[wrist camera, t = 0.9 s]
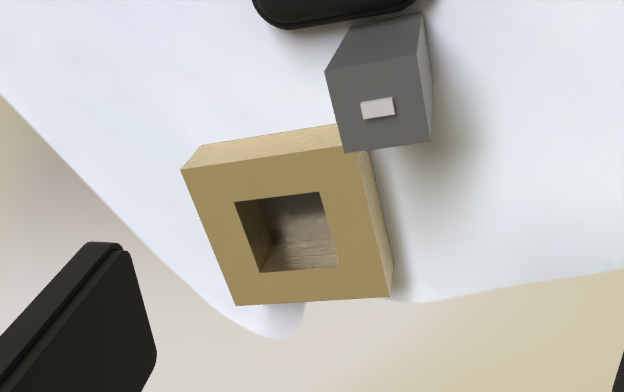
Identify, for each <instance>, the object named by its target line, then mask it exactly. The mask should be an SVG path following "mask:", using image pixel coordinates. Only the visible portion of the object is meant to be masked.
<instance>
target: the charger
mask: <svg viewBox="0 0 624 392" xmlns="http://www.w3.org/2000/svg"><path fill="white" fill-rule="evenodd" d="M324 73H325V77H326V81H327V85H328V89H329V93H330V97H331V101H332V106H333V110H334V114H335V118H336V122H337V126H338V130H339V134H340V138H341V142H342V146H343V150H344V154H346V153H353V152H360V151H366V150H373V149H380V148H387V147H394V146H401V145H408V144H415V143H422V142H429V141H431V122H432V97H433V79H432V72H431V66H430V59H429V53H428V46H427V39H426V33H425V26H424V20H423V13H422V12H420V13H415V14H410V15H406V16H401V17H397V18H392V19H387V20H383V21H378V22H373V23H369V24H364V25H359V26H355V27H350V29H349V31H348V32H347V34H346V36H345V37H344V39H343V41H342V42H341V44H340V46H339V48H338V49H337V51H336V53H335V54H334V56H333V58H332V59H331V61H330V63H329V64H328V66H327V68H326V70H325V71H324Z"/></svg>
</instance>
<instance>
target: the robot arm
mask: <svg viewBox="0 0 624 392" xmlns="http://www.w3.org/2000/svg"><path fill="white" fill-rule="evenodd" d="M156 358H157V351H156V346H155V343H154V339H153V335H152V332H151V328H150V324H149V321H148V317H147V313H146V310H145V306H144V302H143V299H142V295H141V291H140V288H139V284H138V280H137V277H136V273H135V270H134V266H133V262H132V259H131V256H130V254H129V253H128V251H123V248H122V247H121V245H120V244H118V243H108V242H87V243H86V244H85V245H84V246H83V247H82V248H81V249H80V250H79V251H78V252H77V253H76V254H75V256H73V258H72V259H71V260H70V261H69V262H68V263H67V264H66V265H65V267H63V269H62V270H61V271H60V272H59V273H58V274H57V275H56V276H55V277H54V278H53V279H52V280H51V282H50V283H49V284H48V285H47V286H46V287H45V288H44V289H43V290H42V292H40V294H39V295H38V296H37V297H36V298H35V299H34V300H33V301H32V302H31V303H30V305H29V306H28V307H27V308H26V309H25V310H24V311H23V312H22V313H21V314H20V315H19V316H18V318H17V319H16V320H15V321H14V322H13V323H12V324H11V325H10V326H9V327H8V328H7V330H6V331H5V332H4V333H3V334H2V335H1V336H0V392H141V391H142V389H143V387H144V385H145V384H146V382H147V380H148V378H149V376H150V374H151V373H152V371H153V369H154V366H155V363H156ZM612 392H624V352H623V356H622V359H621V362H620V366H619V369H618V372H617V375H616V378H615V382H614V385H613V389H612Z"/></svg>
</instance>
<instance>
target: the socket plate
mask: <svg viewBox="0 0 624 392" xmlns="http://www.w3.org/2000/svg"><path fill="white" fill-rule="evenodd" d="M180 170H181V173H182V175H183V178H184V180H185V183H186V185H187V187H188V190H189V192H190V195H191V197H192V200H193V202H194V205H195V207H196V209H197V212H198V214H199V217H200V219H201V222H202V224H203V227H204V229H205V232H206V234H207V236H208V239H209V241H210V244H211V246H212V249H213V251H214V254H215V256H216V258H217V261H218V263H219V266H220V268H221V271H222V273H223V276H224V278H225V280H226V283H227V285H228V288H229V290H230V293H231V295H232V298H233V300H234V303H235V305H236V306H244V305H260V304H277V303H293V302H310V301H327V300H343V299H358V298H376V297H390V291H391V283H392V274H393V266H394V262H393V258H392V253H391V249H390V244H389V240H388V235H387V231H386V226H385V222H384V218H383V213H382V209H381V204H380V200H379V195H378V191H377V186H376V182H375V177H374V173H373V168H372V164H371V159H370V155H369V150H366V151H360V152H353V153H346V154H344V150H343V146H342V142H341V138H340V134H339V130H338V126H337V124H331V125H325V126H318V127H312V128H306V129H300V130H294V131H288V132H281V133H275V134H269V135H263V136H257V137H250V138H244V139H238V140H232V141H226V142H220V143H213V144H207V145H201V147H200V148H199V149H198V150H197V151H196V152H195V153H194V155H193V156H192V157H191V158H190V159H189V160H188V161H187V162H186V164H185V165H184V166H183V167H182V168H181V169H180Z"/></svg>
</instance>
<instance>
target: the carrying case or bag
mask: <svg viewBox="0 0 624 392" xmlns="http://www.w3.org/2000/svg"><path fill="white" fill-rule="evenodd" d="M415 1H416V0H252V2H253V5H254V7H255V9H256V10H257V12H258V13H259V14H260V16H261V17H262V18H263V19H264V20H265V21H267V22H268V23H269V24H271V25H273V26H275V27H277V28H280V29H285V30H293V29H299V28H305V27H311V26H317V25H323V24H329V23H335V22H341V21H347V20H353V19H359V18H365V17H371V16H377V15H383V14H388V13H394V12H398V11H401V10H403V9H405V8H407V7H408V6H410V5H411V4H412V3H414V2H415Z"/></svg>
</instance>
